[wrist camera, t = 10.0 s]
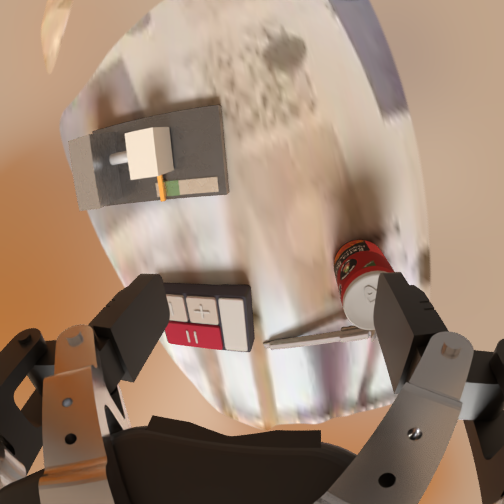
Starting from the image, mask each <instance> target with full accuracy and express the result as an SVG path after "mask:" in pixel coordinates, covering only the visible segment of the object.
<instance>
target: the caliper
mask: <svg viewBox="0 0 504 504" xmlns="http://www.w3.org/2000/svg"><path fill="white" fill-rule="evenodd" d="M369 336H371V341H372V342H373V341H374V340H375V338H376V337H377V334H376V331H375V330H365V329H361V328H358V327H356V326H349V327H342V328H341V331H335V332H329V333H323V334H316V335H309V336H301V337H294V338H285V339H278V340H274V341H270V342H266V343H263V344H264V346H265V348H270V349H271V350H273V349H283V348H293V347H301V346H309V345H317V344H324V343H331V342H338V341H341V343H343V342H350V341H356V340H362V339H368V338H369ZM377 339H378V337H377Z"/></svg>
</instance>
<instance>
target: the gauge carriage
mask: <svg viewBox="0 0 504 504" xmlns="http://www.w3.org/2000/svg"><path fill="white" fill-rule="evenodd" d="M125 142H126V150H127V151H123V152H118V153H113V154H111V155H110V158H109V159H110V163H111V164H112V165H116V164H121V163H127V162H128V165H129V172H130V179H131V180H135V179H141V178H149V177H156V176H157V179H158V186H159V193H160V199H161V201H165V200H166V196H165V189H164V182H163V174H165V173H168V172H171V171H173V170H174V166H173V157H172V149H171V140H170V130H169V127H152V128H147V129H142V130H138V131H133V132H129V133H125Z"/></svg>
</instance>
